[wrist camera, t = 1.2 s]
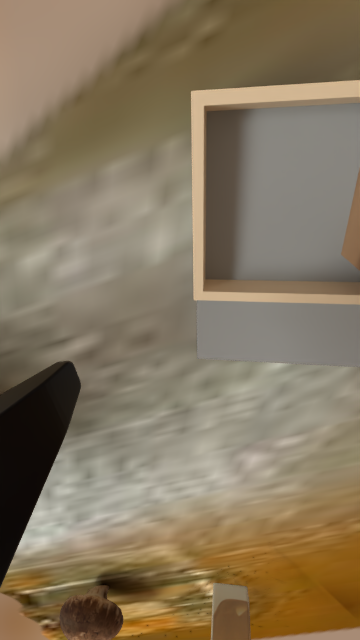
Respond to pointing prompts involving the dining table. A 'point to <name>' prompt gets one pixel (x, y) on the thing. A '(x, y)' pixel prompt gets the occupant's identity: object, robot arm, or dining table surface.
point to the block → (353, 230)
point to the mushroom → (91, 616)
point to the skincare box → (230, 613)
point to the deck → (275, 223)
